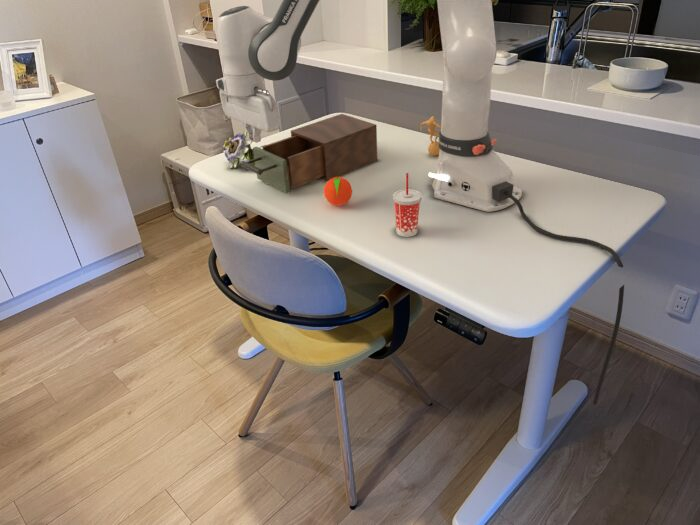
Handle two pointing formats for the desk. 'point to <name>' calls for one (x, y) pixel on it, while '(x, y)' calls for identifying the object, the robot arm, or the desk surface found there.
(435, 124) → the figurine
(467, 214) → the desk surface
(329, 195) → the clementine
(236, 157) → the passion flower
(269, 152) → the drawer
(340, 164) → the cabinet
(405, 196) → the beverage cup
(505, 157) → the desk surface
